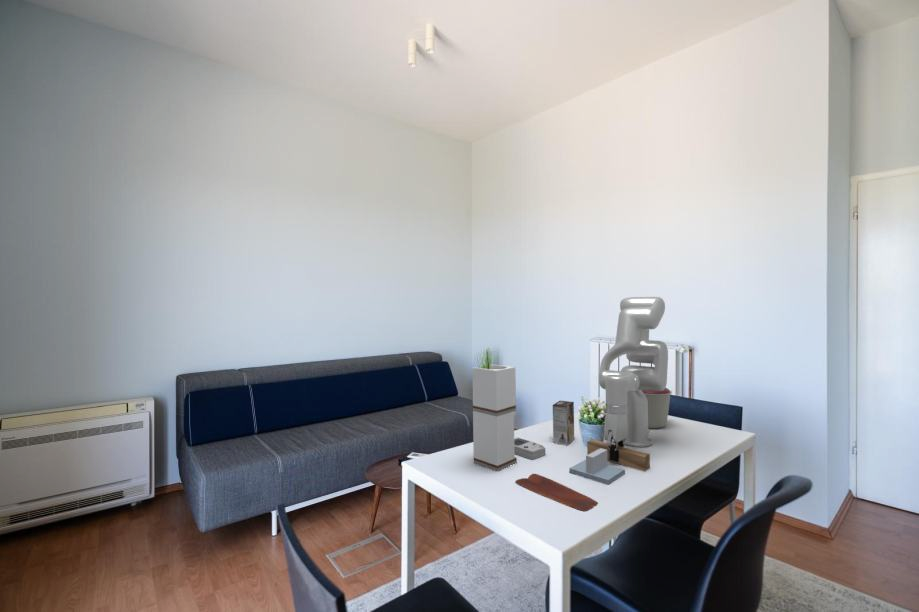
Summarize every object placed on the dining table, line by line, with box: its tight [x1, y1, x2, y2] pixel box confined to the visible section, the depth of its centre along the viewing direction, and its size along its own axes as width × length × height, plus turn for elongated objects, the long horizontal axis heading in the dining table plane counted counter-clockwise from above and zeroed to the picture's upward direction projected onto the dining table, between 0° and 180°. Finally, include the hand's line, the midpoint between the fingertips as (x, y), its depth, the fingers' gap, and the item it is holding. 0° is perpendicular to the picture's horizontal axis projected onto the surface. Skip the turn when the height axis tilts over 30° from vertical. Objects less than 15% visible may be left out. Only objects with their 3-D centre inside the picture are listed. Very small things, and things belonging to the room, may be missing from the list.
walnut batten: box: [586, 439, 651, 472], centre depth 156 cm, size 4×22×5 cm, turn 42°
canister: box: [642, 387, 673, 429], centre depth 200 cm, size 18×18×21 cm
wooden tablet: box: [514, 473, 599, 512], centre depth 132 cm, size 27×10×2 cm, turn 38°
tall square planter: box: [471, 363, 518, 472], centre depth 156 cm, size 11×11×35 cm
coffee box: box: [552, 400, 575, 446], centre depth 179 cm, size 9×6×16 cm
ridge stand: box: [568, 448, 626, 486], centre depth 146 cm, size 12×14×7 cm
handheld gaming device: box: [514, 437, 547, 461], centre depth 167 cm, size 9×15×4 cm, turn 42°
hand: (617, 458), depth 156 cm, fingers closed on walnut batten, 4 cm apart
